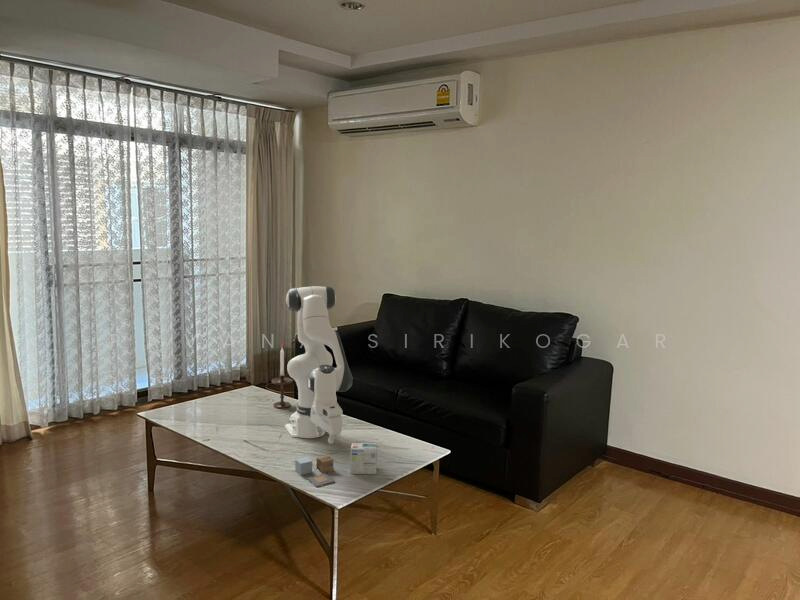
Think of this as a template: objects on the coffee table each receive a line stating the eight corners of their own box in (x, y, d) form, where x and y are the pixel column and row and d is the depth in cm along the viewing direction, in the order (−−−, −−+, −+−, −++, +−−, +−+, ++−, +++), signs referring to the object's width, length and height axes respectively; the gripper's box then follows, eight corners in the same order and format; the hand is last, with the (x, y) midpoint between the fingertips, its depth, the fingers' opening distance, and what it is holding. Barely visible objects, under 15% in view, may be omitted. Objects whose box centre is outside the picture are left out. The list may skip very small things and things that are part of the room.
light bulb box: (376, 467, 240) (377, 442, 239) (376, 474, 234) (377, 449, 232) (350, 467, 240) (351, 442, 238) (350, 474, 233) (350, 448, 232)
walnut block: (316, 469, 237) (316, 457, 236) (327, 466, 240) (327, 454, 239) (322, 473, 233) (322, 462, 232) (333, 470, 236) (333, 459, 235)
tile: (307, 479, 228) (307, 477, 227) (325, 474, 232) (325, 472, 232) (316, 487, 221) (316, 485, 221) (334, 482, 226) (334, 480, 226)
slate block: (295, 471, 235) (295, 459, 234) (306, 468, 238) (306, 456, 237) (300, 475, 231) (300, 463, 230) (312, 472, 234) (312, 460, 233)
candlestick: (287, 401, 320) (287, 339, 315) (295, 407, 311) (295, 343, 306) (268, 404, 314) (268, 341, 309) (276, 410, 305) (275, 345, 300)
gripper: (306, 400, 239) (306, 432, 241) (330, 414, 223) (330, 449, 225) (320, 397, 243) (320, 429, 245) (344, 411, 226) (344, 445, 228)
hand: (325, 438), depth 235 cm, fingers open, 8 cm apart
